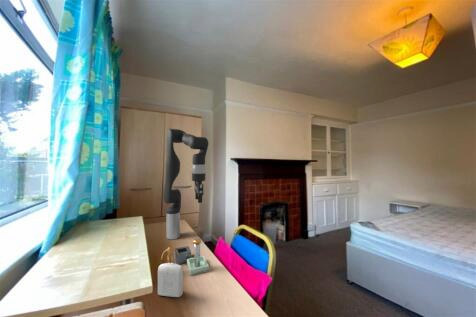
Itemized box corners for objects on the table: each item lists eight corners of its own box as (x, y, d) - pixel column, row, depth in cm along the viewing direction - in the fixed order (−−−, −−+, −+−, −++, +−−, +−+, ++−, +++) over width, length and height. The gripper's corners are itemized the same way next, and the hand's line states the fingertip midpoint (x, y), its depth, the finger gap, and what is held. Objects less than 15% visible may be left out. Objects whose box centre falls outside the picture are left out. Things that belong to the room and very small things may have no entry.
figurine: (162, 278, 91) (161, 252, 91) (160, 271, 97) (160, 247, 97) (180, 273, 95) (180, 248, 95) (178, 266, 101) (177, 243, 100)
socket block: (174, 257, 110) (174, 248, 110) (188, 254, 113) (188, 245, 113) (175, 264, 103) (175, 255, 103) (191, 261, 106) (191, 252, 106)
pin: (200, 263, 103) (200, 237, 103) (202, 267, 99) (201, 240, 99) (192, 264, 101) (192, 239, 101) (194, 268, 98) (193, 242, 97)
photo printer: (184, 291, 82) (184, 261, 82) (180, 298, 78) (179, 267, 78) (161, 289, 84) (161, 260, 84) (156, 296, 80) (155, 265, 79)
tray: (186, 263, 103) (186, 258, 103) (203, 260, 107) (203, 255, 107) (190, 275, 93) (190, 270, 93) (208, 270, 97) (208, 265, 97)
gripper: (208, 173, 106) (207, 203, 106) (202, 171, 119) (202, 197, 120) (194, 173, 103) (193, 204, 104) (190, 171, 116) (190, 198, 117)
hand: (198, 200), depth 112 cm, fingers open, 8 cm apart
